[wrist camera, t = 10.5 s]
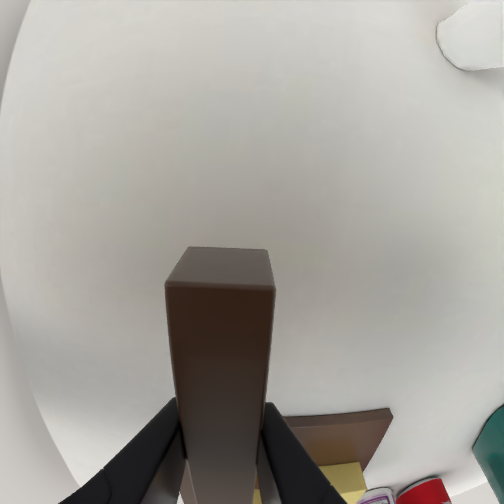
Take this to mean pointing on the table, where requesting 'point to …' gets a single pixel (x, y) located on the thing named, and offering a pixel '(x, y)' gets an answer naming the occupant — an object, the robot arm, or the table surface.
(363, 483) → the butter pat
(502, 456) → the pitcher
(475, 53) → the milkshake
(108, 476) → the robot arm
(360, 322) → the table surface
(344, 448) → the butter board
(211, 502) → the brown and silver rod
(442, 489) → the beverage can
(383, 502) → the pill bottle
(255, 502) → the butter stick
